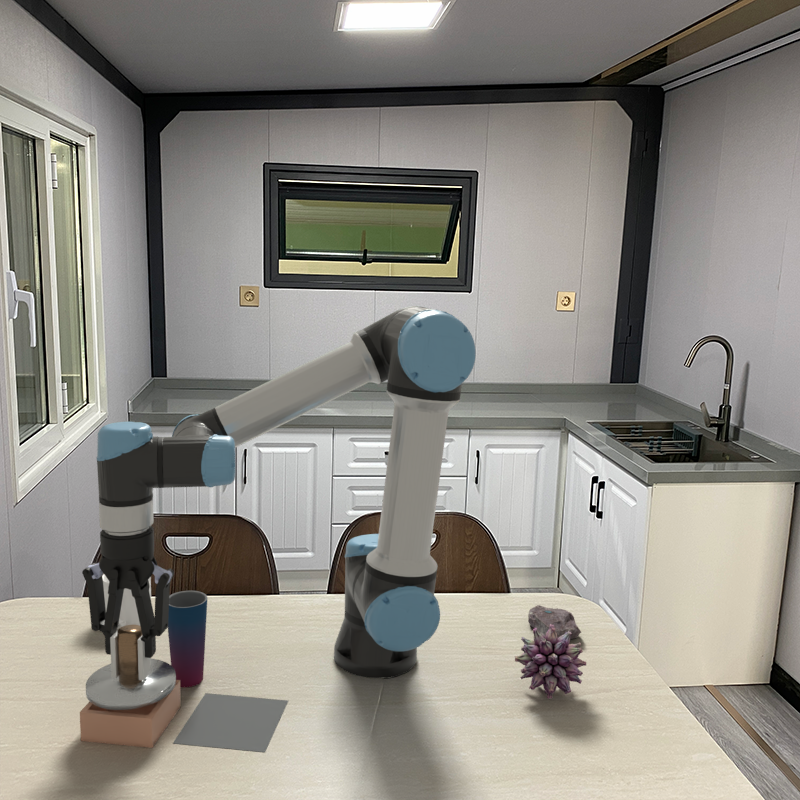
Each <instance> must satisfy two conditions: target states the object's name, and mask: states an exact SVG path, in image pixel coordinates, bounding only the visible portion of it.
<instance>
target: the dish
mask: <svg viewBox="0 0 800 800" xmlns="http://www.w3.org/2000/svg"><path fill="white" fill-rule="evenodd" d="M181 696H182V695H181V687H180V680H176V684H175V687H174V689H173V690H172V691H171V692H170V693H169V694H168V695H167V696H166V697H164V698H163V699H161V700H159V701H157V702H155V703H153V704H150V705H147V706H144V707H140V708H135V709H128V710H110V709H104V708H101V707H98V706H96V705H94V704H92V703H91V702H90V701H89V700H88V703H86V705H85V706H84V707H83V708H82V709H81V710H80V711H79V724H80V728H79V729H80V731H79V732H80V741H81V742H86V743H95V744H96V743H99V744H108V745H116V746H128V747H129V746H130V747H139V748H146V749H147V748H149V749H153V748H154V746H155V745H156V743H157V742H158V741H159V740H160V738H161V736H162V735H163V733H164V732H165V730H166V729H167V727H168V726H169V725H170V724H171V722H172V720H173V719H174V717H175V716H176V714H178V711H179V710H180V709H181V707H182V706H181V698H182V697H181Z"/></svg>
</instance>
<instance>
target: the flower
mask: <svg viewBox="0 0 800 800" xmlns="http://www.w3.org/2000/svg"><path fill="white" fill-rule="evenodd" d="M532 633H533V640H532V639H528V638H525V637H523V636H521V639H520V640H521V641H522V642H523V645H522V646H521V648H520V651H522V652H523V653H522V654H520V655H514V662H517V663H519V664H521V665H523V666H524V667H523V668H522V669H520V672H521V674H522V675H521V676H520V679H521V680H523V679H527V678H528V679H529V678H531V682H530V686H529V687H528V689H529V690H531V691H533V690H535V689H536V688H539V687H541V686H543V689H544V693H545V694H546V698H547V699H548V700H549V699H551V700H552V699H553V695H554V693H555V692H556V690H557V688H558V689H559V690H561V691H563V693H564V694H566V695H567V694H570V693H571V692H572V689H571V685H570V684H571V683H570V682H573V683H574V682H576V683H578V684H582V682H583V680H582V679H581V678H580V677H581V676H582V675H583V671H581V670H580V669H579V668H581V667H584V666H587V661H585V660H583V659H580V658H579V656H580V655H581V654H582V653H583V652H584V651H583V648H582V643H581V642H578V643H570V641H571V639H570V636H571V634H572V633H571V632H569V631H568V632H566V633H565V634H564V635H562V636H560V637H559V638H558V637H557V633H556V629H555V628H554V625H551V624H550V628H549V630H548V631H547V633H546V637H545V635H544V634H542V633H541V632H539V631H538V629H537V628H533V629H532Z"/></svg>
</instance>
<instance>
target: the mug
mask: <svg viewBox="0 0 800 800" xmlns="http://www.w3.org/2000/svg"><path fill="white" fill-rule="evenodd" d="M102 578H103V587H104V598H105V608H106V610H107V603H108V597H109V594H108V588H109V580H108V579H107V577H106V576H105V575H104V574H103V575H102ZM151 579H152V576H151V577H150V578H149V579H148V581H149V586H150V587H149V593H150V598H151V599H152V587H151V586H152V584H151V583H152V582H151ZM119 624H120V626H119V627H118V628H117V630H118V629H119V628H121V627H123V626H126V625H139V626H140V622H139V617H138V612H137V607H136V603H135V598H134V597H133V596H132V592H131V590H130V589H127V588H124V592H123V598H122V605H121V611H120V617H119ZM119 624H118V625H119Z"/></svg>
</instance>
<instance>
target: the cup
mask: <svg viewBox="0 0 800 800" xmlns="http://www.w3.org/2000/svg"><path fill="white" fill-rule="evenodd" d="M207 611H208V596H207V594H206V593H204V592H201V591H199V590H183V591H178V592H174V593H172V594H169V616H168V628H167V635H168V643H169V644H168V645H169V647H168V648H169V655H170V665H171V666H172V667H173V668H174V670H175V673H176V680H180V688H192V687H195V686H198V685H200V684H201V683H202V682H203V680H204V671H205V668H204V667H205V653H206V652H205V651H206V634H207V630H206V629H207V615H208V612H207Z"/></svg>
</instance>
